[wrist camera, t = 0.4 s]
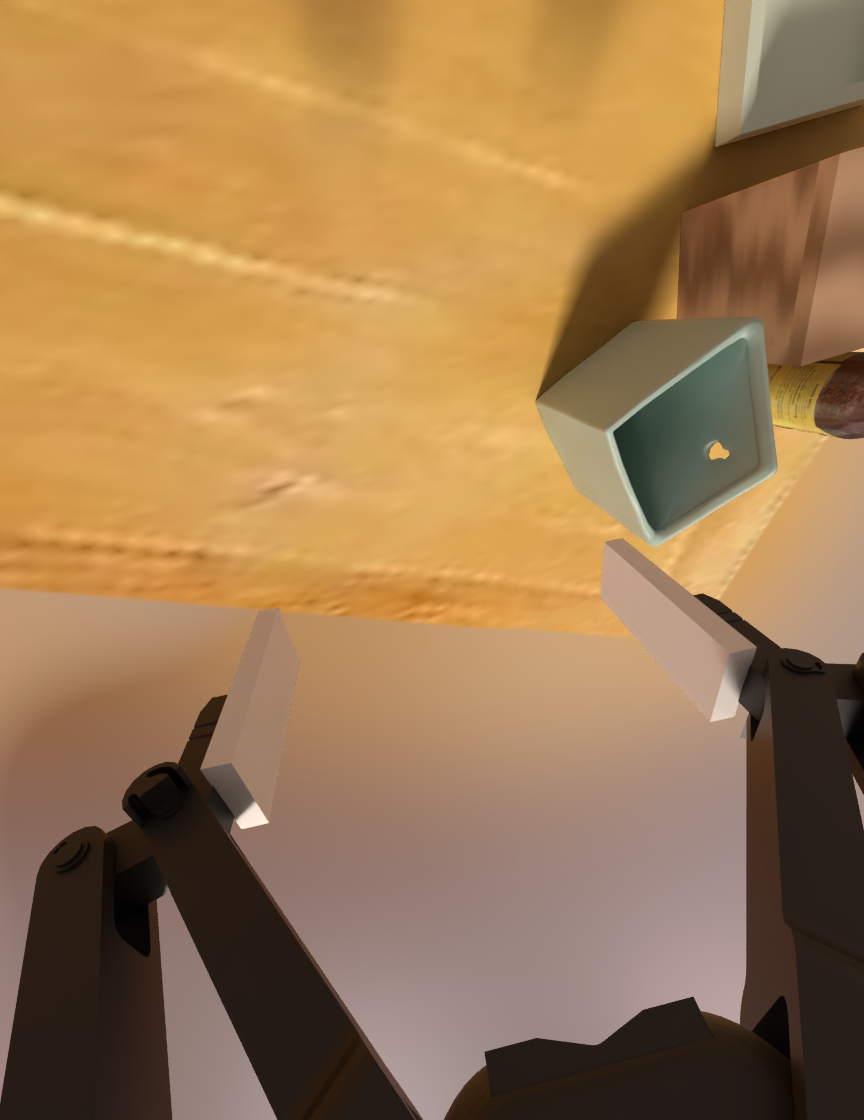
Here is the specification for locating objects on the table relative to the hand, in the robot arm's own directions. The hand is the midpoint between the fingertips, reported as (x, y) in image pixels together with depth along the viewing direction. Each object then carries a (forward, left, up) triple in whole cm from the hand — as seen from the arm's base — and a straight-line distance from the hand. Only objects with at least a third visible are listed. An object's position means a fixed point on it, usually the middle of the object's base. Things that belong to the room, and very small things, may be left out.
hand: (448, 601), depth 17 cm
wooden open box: (-6, +36, -27) cm, 46 cm away
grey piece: (+1, +17, -27) cm, 32 cm away
